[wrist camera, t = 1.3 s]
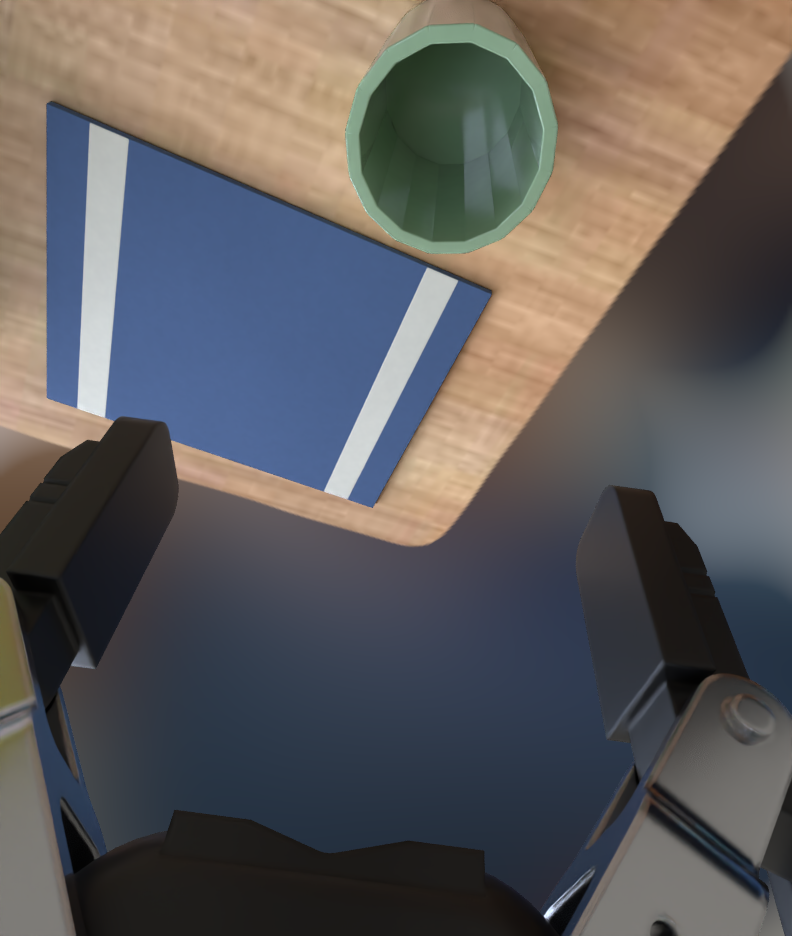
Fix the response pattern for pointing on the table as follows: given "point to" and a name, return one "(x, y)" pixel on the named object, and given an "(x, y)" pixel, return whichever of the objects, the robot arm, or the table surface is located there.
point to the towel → (238, 314)
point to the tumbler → (451, 128)
